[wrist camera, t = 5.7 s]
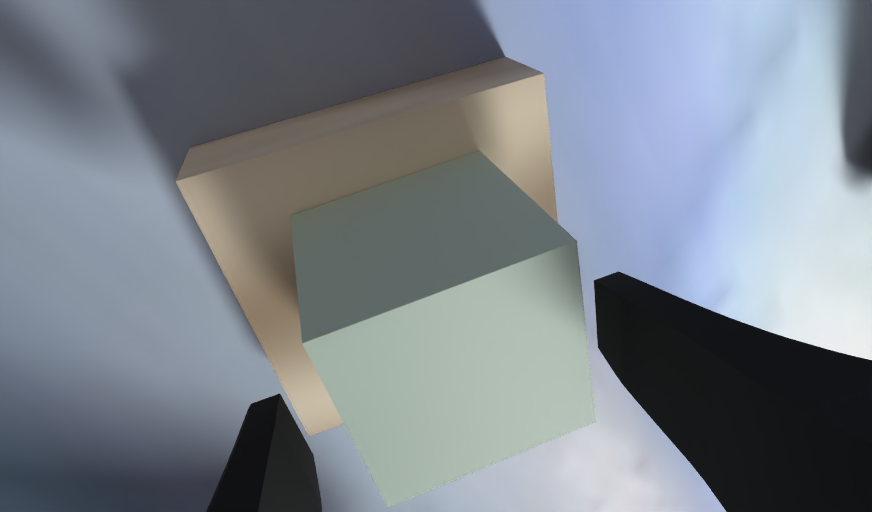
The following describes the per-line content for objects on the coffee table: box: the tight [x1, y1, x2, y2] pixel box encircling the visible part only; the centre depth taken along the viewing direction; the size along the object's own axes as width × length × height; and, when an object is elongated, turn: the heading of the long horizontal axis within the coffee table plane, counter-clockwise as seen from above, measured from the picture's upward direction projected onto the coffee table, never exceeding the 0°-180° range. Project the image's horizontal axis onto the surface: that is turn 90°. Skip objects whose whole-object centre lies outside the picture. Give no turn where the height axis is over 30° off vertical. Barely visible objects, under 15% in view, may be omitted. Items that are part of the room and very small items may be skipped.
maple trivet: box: [175, 57, 558, 436], centre depth 16 cm, size 9×9×3 cm
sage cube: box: [290, 151, 596, 508], centre depth 12 cm, size 5×5×5 cm
